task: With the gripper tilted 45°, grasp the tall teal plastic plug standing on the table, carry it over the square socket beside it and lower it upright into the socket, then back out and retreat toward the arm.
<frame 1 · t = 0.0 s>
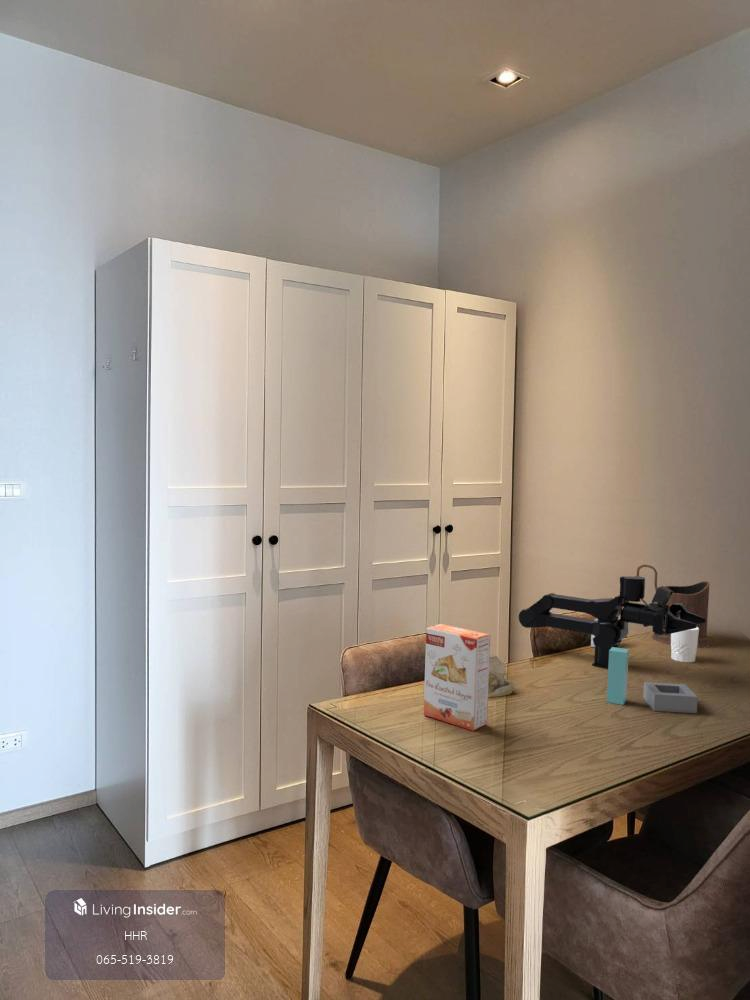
hand: (701, 623, 207), 17 cm above the table, tool horizontal, fingers open, 9 cm apart
plug: (616, 701, 191), on the table
socket: (669, 705, 189), on the table
ceramic model: (483, 691, 197), on the table
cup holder: (671, 641, 256), on the table
medicine box: (601, 646, 247), on the table
cracker box: (454, 721, 174), on the table
white cup: (683, 660, 232), on the table
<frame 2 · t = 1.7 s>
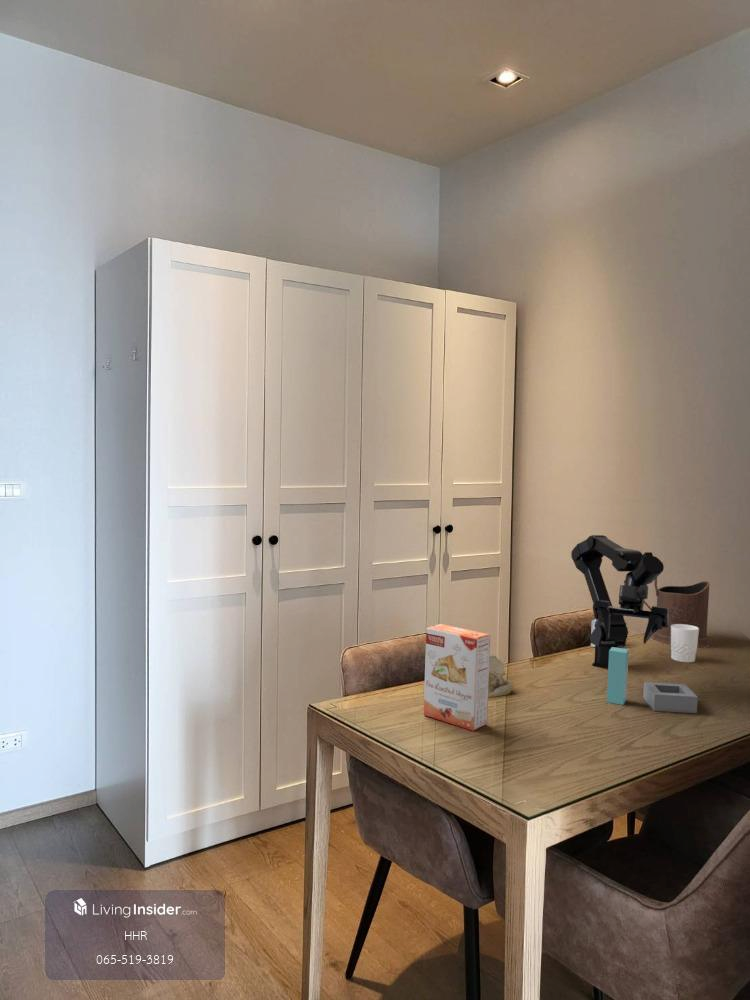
hand: (625, 640, 197), 14 cm above the table, tool tilted 45°, fingers open, 9 cm apart
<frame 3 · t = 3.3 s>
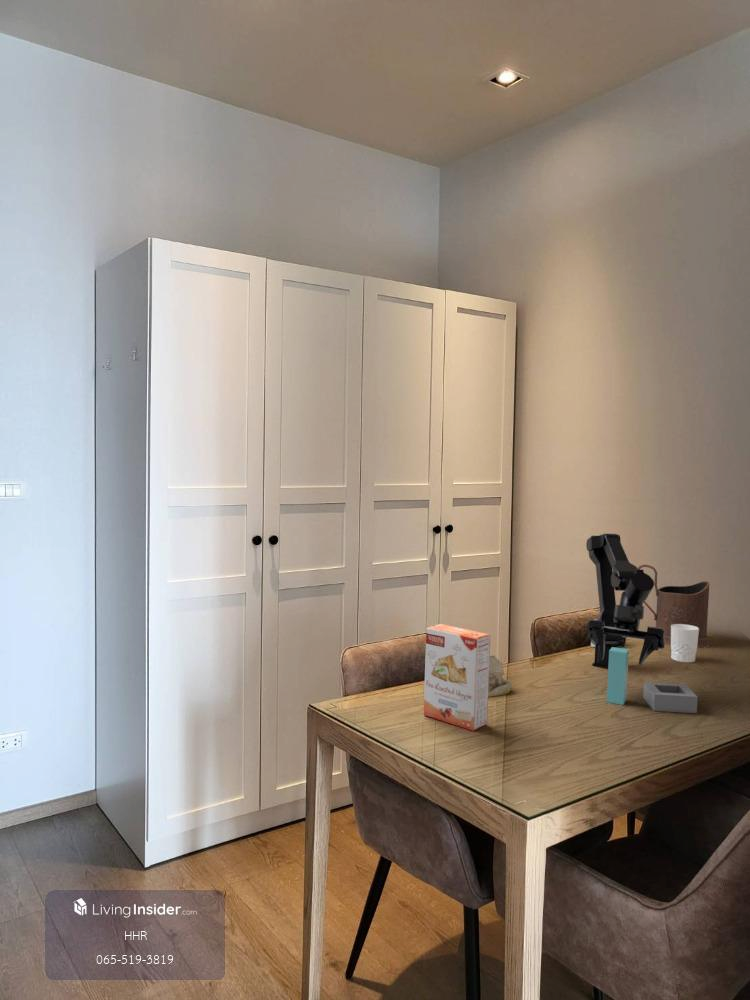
hand: (620, 661, 192), 9 cm above the table, tool tilted 45°, fingers open, 9 cm apart
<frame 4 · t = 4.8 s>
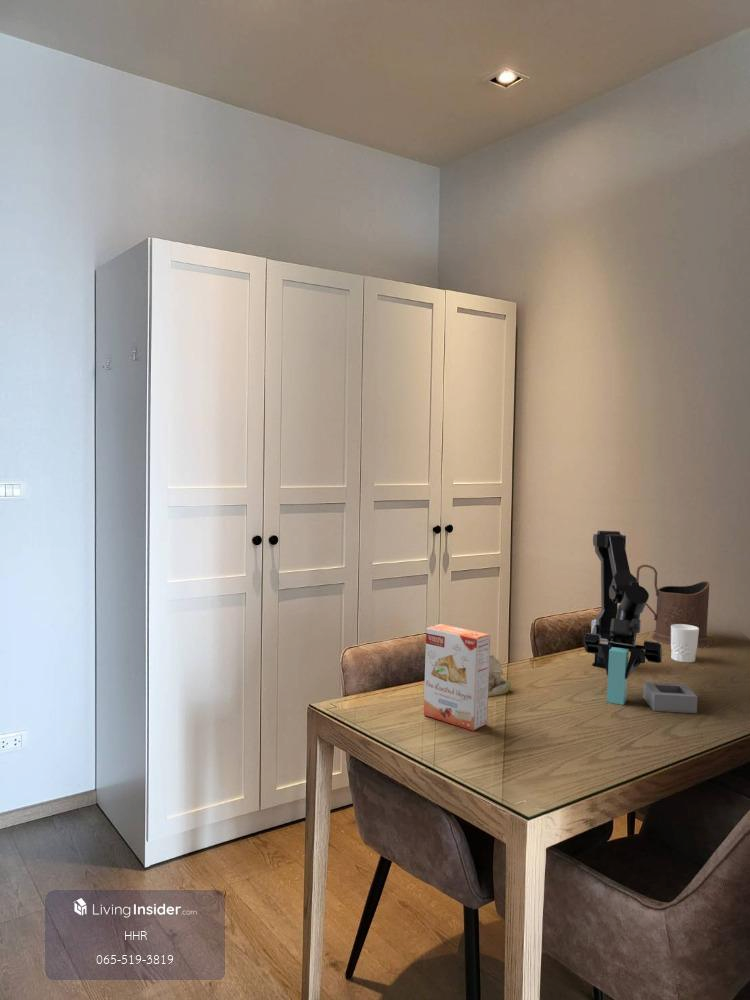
hand: (616, 676, 189), 7 cm above the table, tool tilted 45°, fingers closed on plug, 4 cm apart
plug: (616, 701, 191), on the table, touching gripper
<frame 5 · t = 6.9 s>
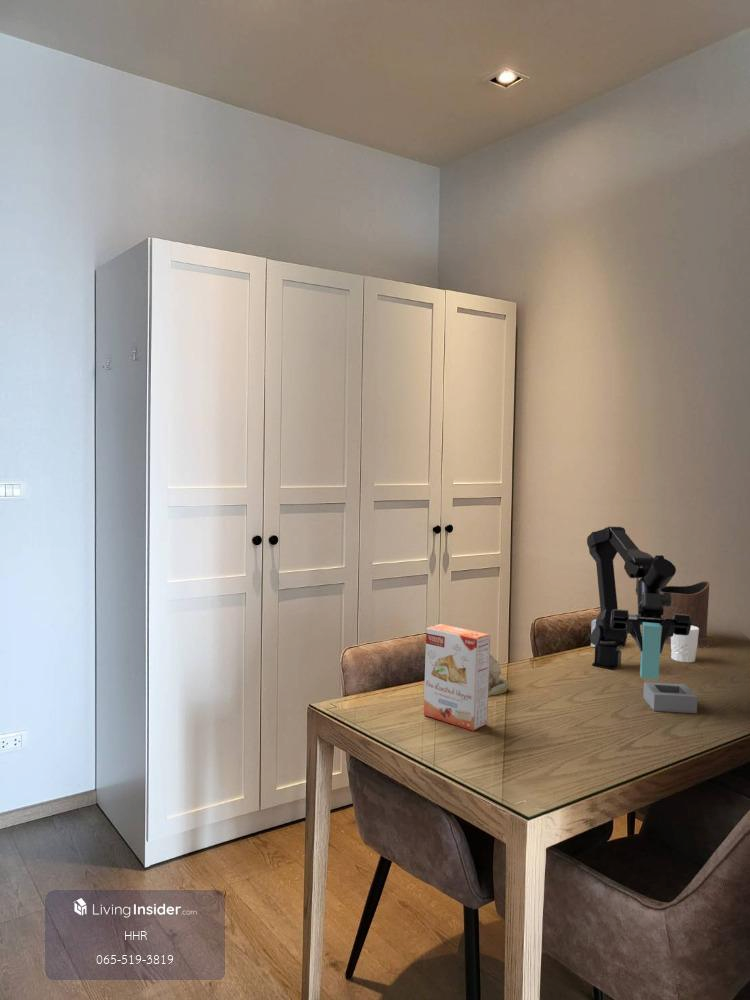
hand: (651, 651, 187), 14 cm above the table, tool tilted 45°, fingers closed on plug, 4 cm apart
plug: (649, 676, 189), point 7 cm above the table, touching gripper
when the fingers open (9 cm above the table, at t = 8.9 s): plug drops 1 cm, resting on socket.
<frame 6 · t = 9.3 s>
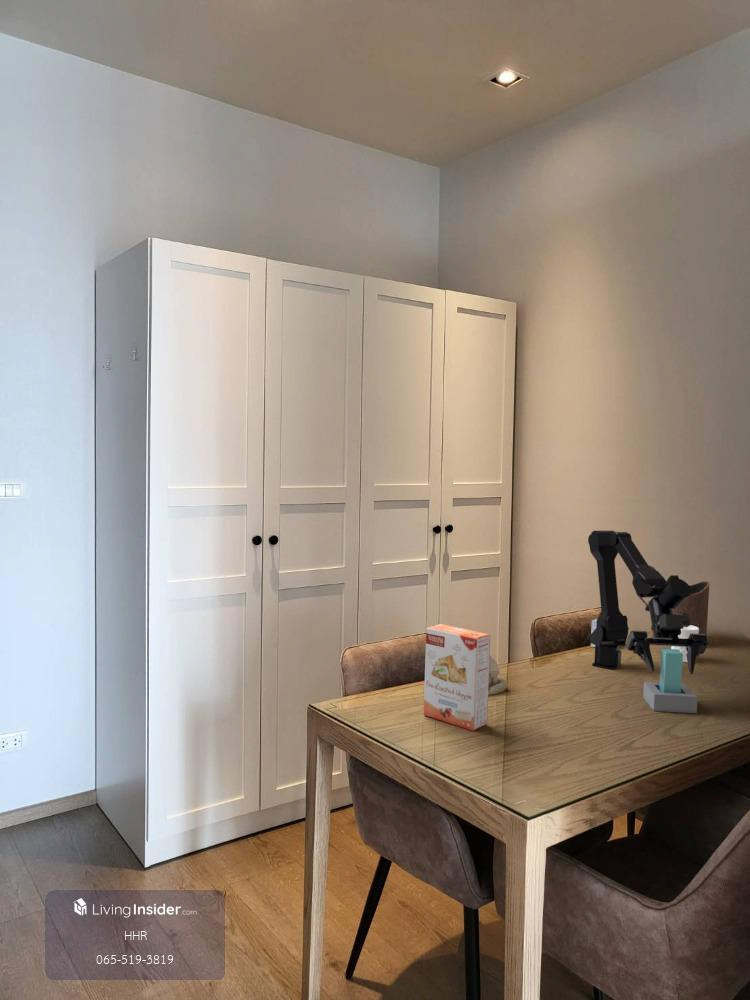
hand: (672, 672, 187), 9 cm above the table, tool tilted 45°, fingers open, 9 cm apart
plug: (669, 703, 189), resting on socket
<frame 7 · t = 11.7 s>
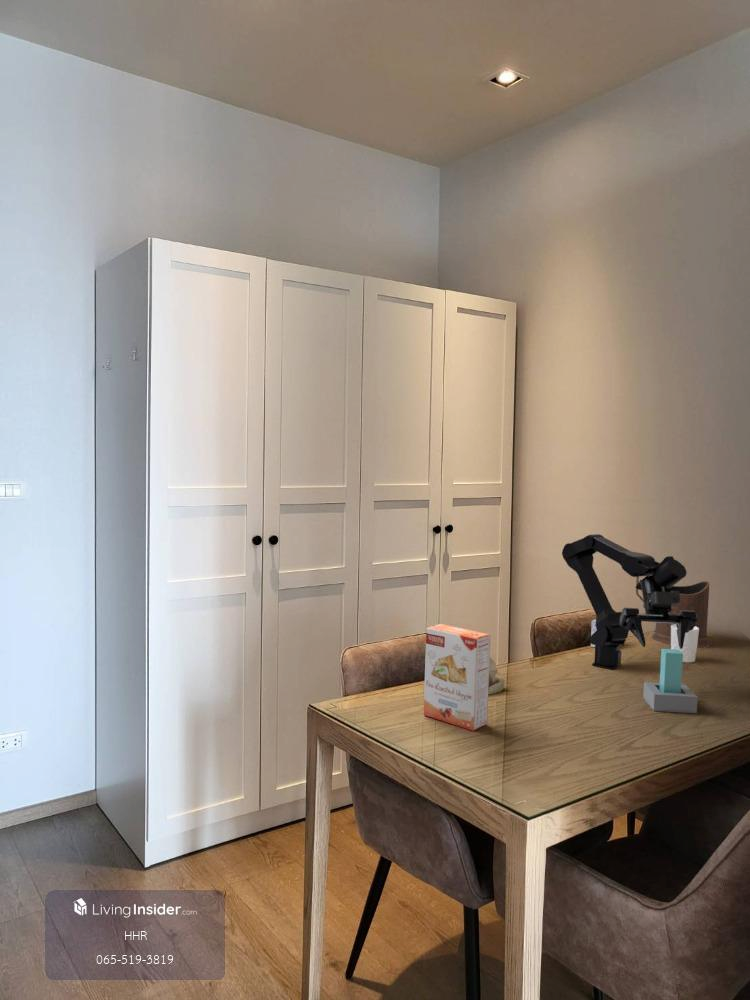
hand: (662, 647, 196), 12 cm above the table, tool tilted 45°, fingers open, 9 cm apart
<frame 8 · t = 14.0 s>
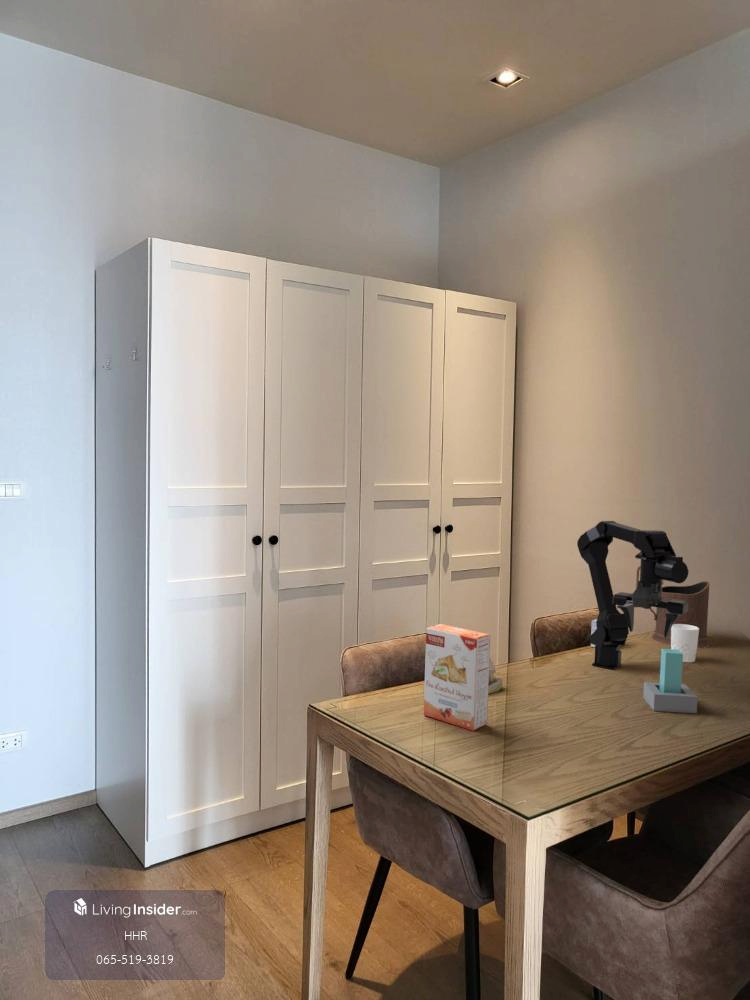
hand: (648, 634, 208), 13 cm above the table, tool pointing down, fingers open, 9 cm apart
at the end: plug 0.0 cm off-centre on the socket, point 0.5 cm above the socket's base; plug tilted 0°; the gripper is holding nothing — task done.
